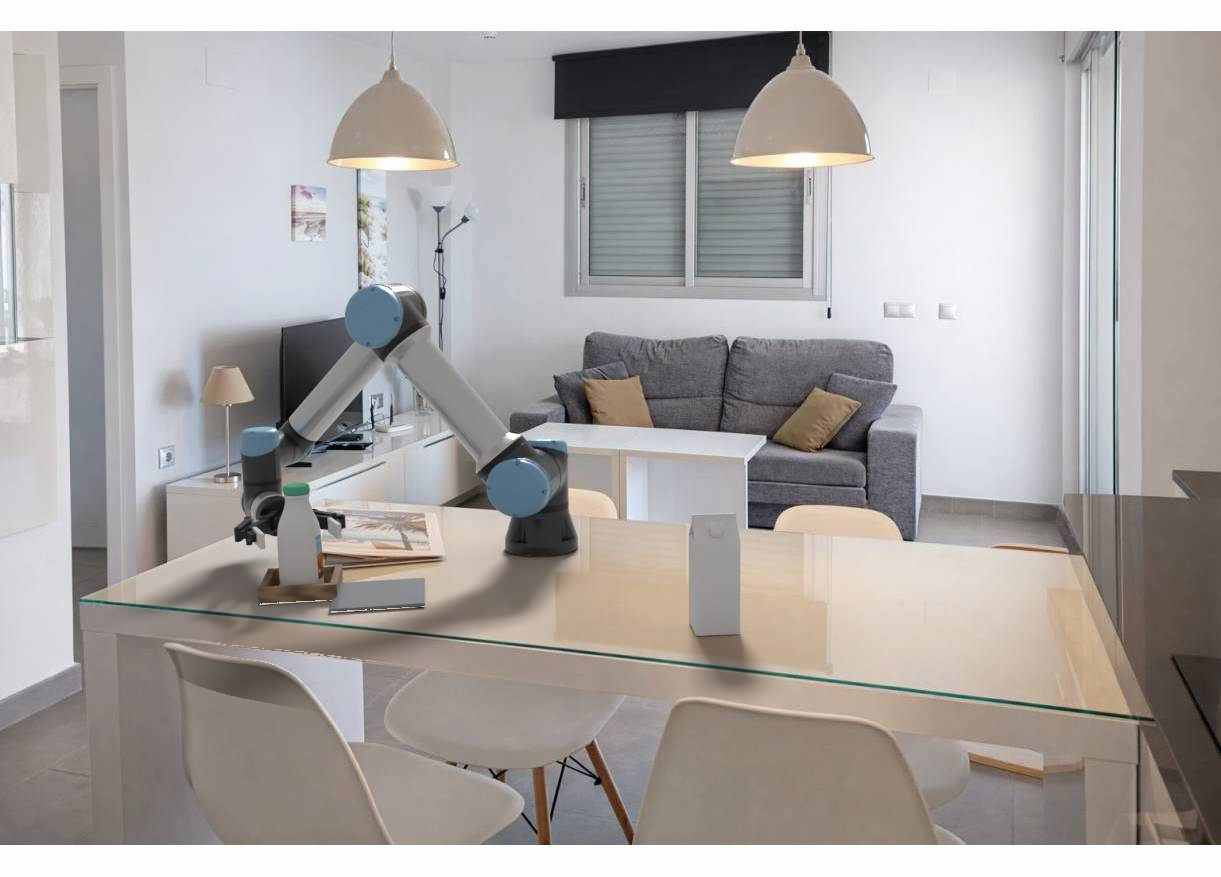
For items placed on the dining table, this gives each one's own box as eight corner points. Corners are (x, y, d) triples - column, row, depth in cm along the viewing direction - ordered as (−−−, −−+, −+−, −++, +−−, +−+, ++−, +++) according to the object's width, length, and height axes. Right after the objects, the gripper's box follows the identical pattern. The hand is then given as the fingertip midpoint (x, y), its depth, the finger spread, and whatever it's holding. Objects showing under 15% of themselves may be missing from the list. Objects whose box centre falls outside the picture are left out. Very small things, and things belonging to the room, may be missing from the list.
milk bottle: (312, 599, 198) (305, 489, 194) (272, 597, 199) (265, 488, 196) (331, 587, 205) (325, 480, 202) (293, 585, 207) (286, 479, 203)
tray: (342, 579, 210) (342, 564, 209) (337, 600, 197) (336, 584, 196) (269, 584, 207) (268, 568, 207) (259, 605, 194) (258, 589, 194)
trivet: (424, 581, 207) (424, 577, 207) (424, 607, 192) (424, 603, 192) (337, 587, 205) (337, 582, 205) (330, 613, 189) (329, 609, 189)
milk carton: (688, 622, 182) (688, 509, 179) (731, 620, 183) (731, 508, 180) (695, 637, 175) (695, 519, 172) (740, 635, 176) (740, 518, 172)
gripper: (339, 524, 223) (370, 547, 205) (209, 541, 211) (230, 567, 193) (337, 488, 222) (368, 507, 204) (206, 502, 210) (227, 525, 192)
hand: (301, 536), depth 198 cm, fingers open, 13 cm apart
